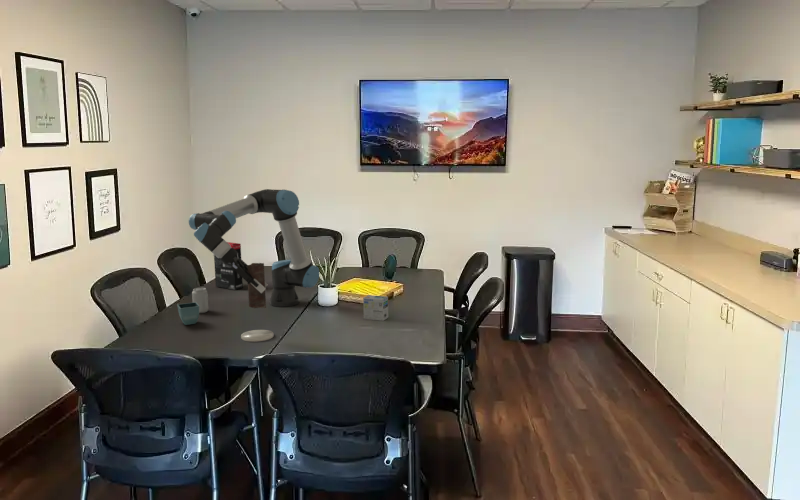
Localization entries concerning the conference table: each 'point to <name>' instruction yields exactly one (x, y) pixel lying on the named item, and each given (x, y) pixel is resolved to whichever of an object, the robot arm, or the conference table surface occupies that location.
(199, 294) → the can
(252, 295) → the candle
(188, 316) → the flower pot
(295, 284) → the robot arm
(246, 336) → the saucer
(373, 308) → the light bulb box
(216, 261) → the graphics card box
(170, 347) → the conference table surface
